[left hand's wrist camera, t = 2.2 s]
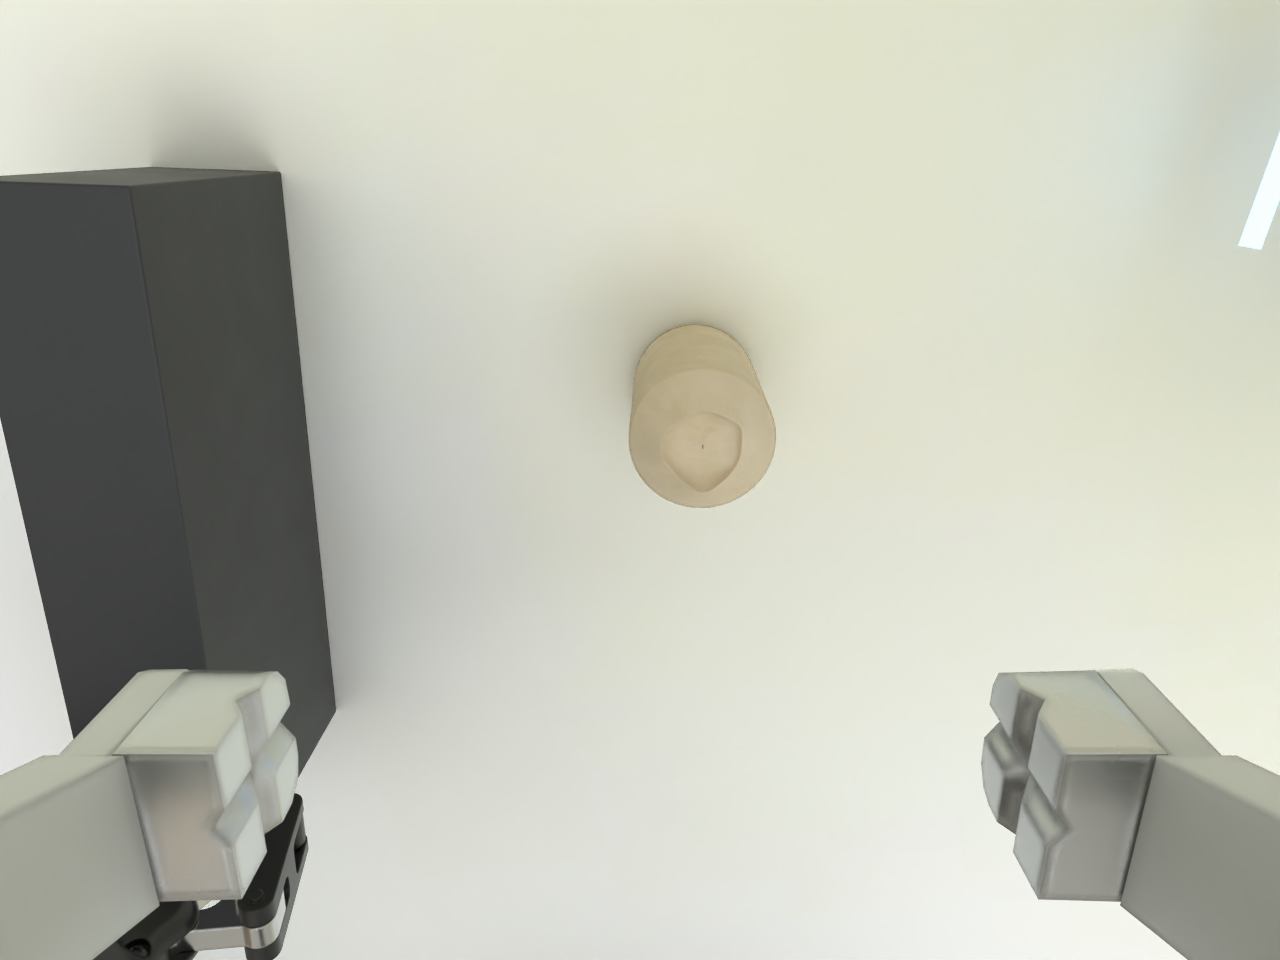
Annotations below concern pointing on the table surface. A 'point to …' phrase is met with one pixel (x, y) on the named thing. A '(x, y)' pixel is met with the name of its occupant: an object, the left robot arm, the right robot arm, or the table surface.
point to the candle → (699, 419)
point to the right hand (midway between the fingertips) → (211, 744)
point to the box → (162, 431)
